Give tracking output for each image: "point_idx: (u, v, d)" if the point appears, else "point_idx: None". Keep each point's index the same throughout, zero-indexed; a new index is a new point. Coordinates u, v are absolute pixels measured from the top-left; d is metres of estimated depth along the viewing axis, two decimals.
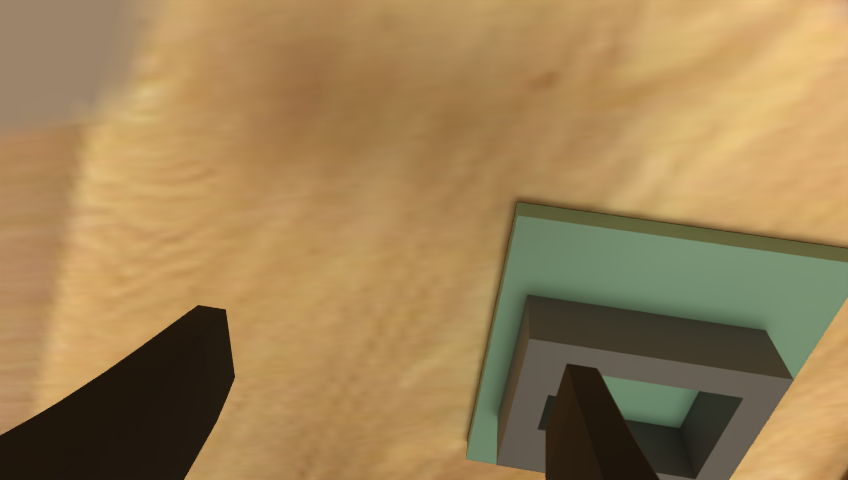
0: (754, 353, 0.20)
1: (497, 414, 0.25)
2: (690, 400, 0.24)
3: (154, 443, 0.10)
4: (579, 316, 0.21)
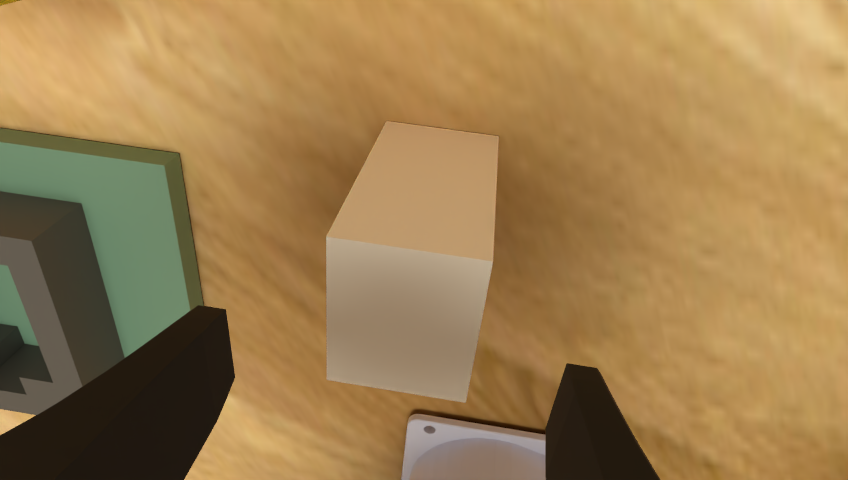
0: None
1: None
2: None
3: (154, 443, 0.10)
4: None
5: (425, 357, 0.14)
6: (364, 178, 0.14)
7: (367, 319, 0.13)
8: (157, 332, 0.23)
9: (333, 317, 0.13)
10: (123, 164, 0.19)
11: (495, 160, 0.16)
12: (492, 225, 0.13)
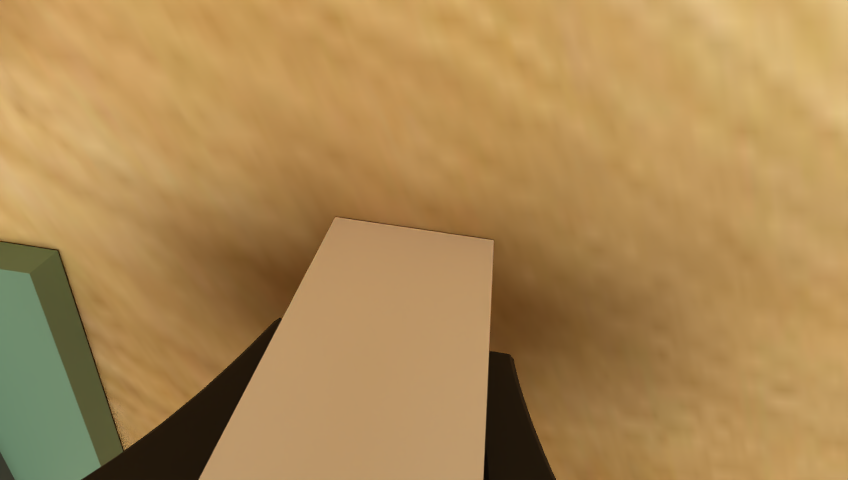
0: None
1: None
2: None
3: None
4: None
5: None
6: (281, 343, 0.09)
7: None
8: (54, 462, 0.18)
9: None
10: None
11: (488, 291, 0.11)
12: (480, 451, 0.08)
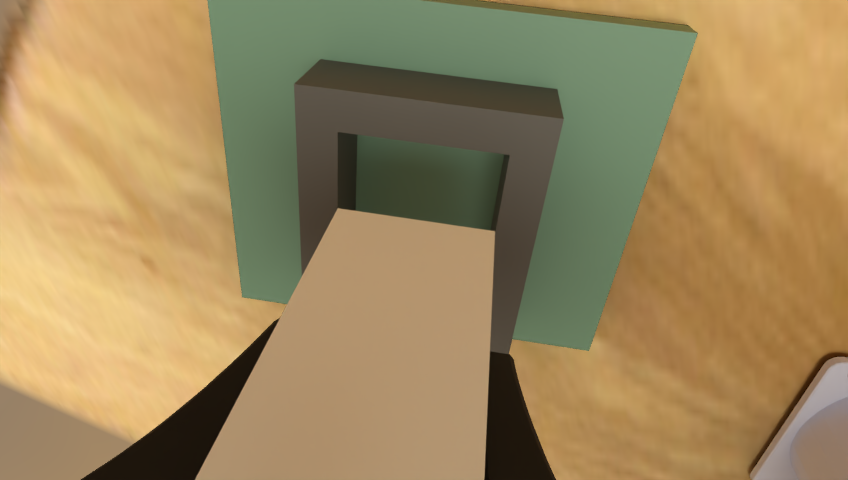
0: None
1: None
2: None
3: None
4: None
5: None
6: (286, 330, 0.09)
7: None
8: (572, 257, 0.20)
9: None
10: (641, 33, 0.16)
11: (489, 280, 0.11)
12: (482, 434, 0.08)
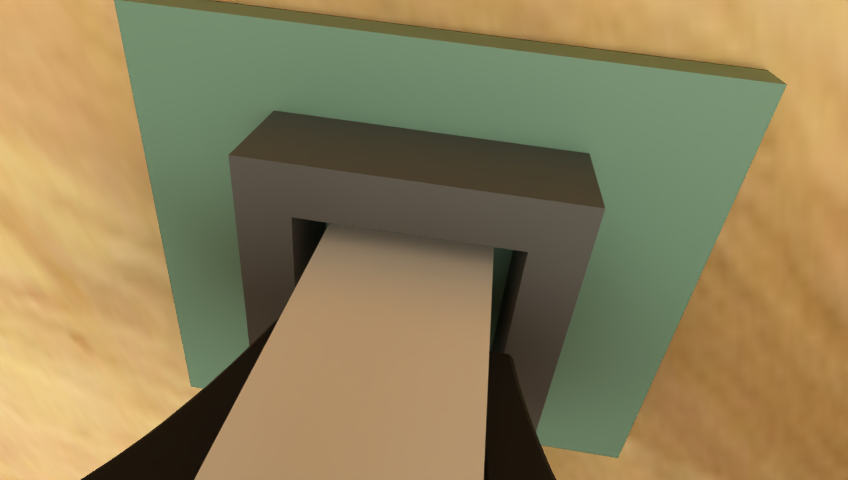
0: None
1: None
2: None
3: None
4: None
5: None
6: (285, 330, 0.09)
7: None
8: (601, 354, 0.16)
9: None
10: (708, 84, 0.11)
11: (489, 280, 0.11)
12: (482, 434, 0.08)
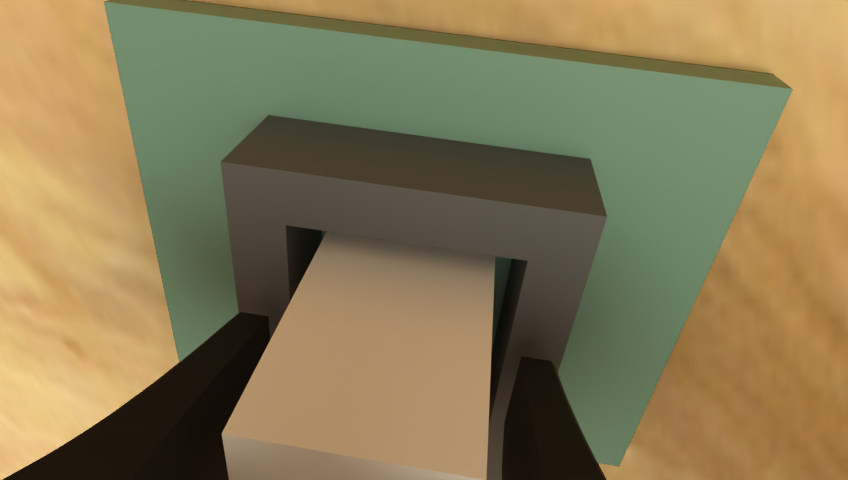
0: None
1: None
2: None
3: (205, 452, 0.10)
4: None
5: None
6: (302, 301, 0.10)
7: None
8: (602, 362, 0.15)
9: None
10: (713, 88, 0.11)
11: (491, 259, 0.12)
12: (486, 393, 0.09)
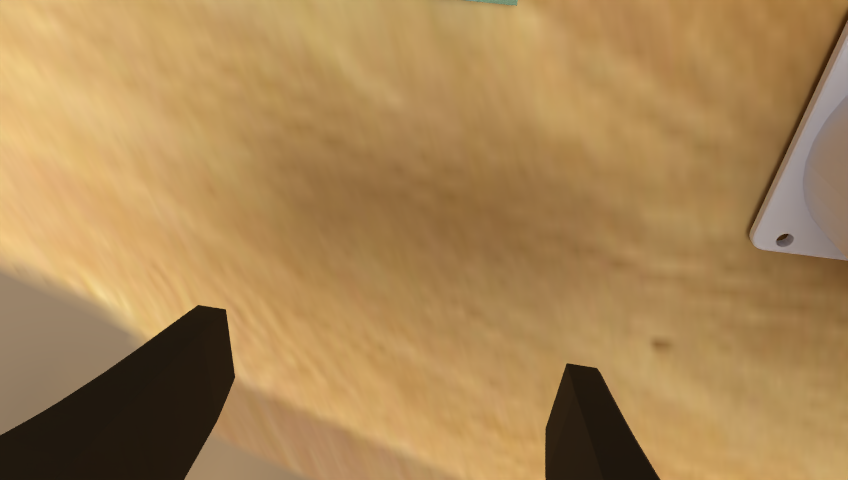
0: None
1: None
2: None
3: (154, 443, 0.10)
4: None
5: None
6: None
7: None
8: None
9: None
10: None
11: None
12: None
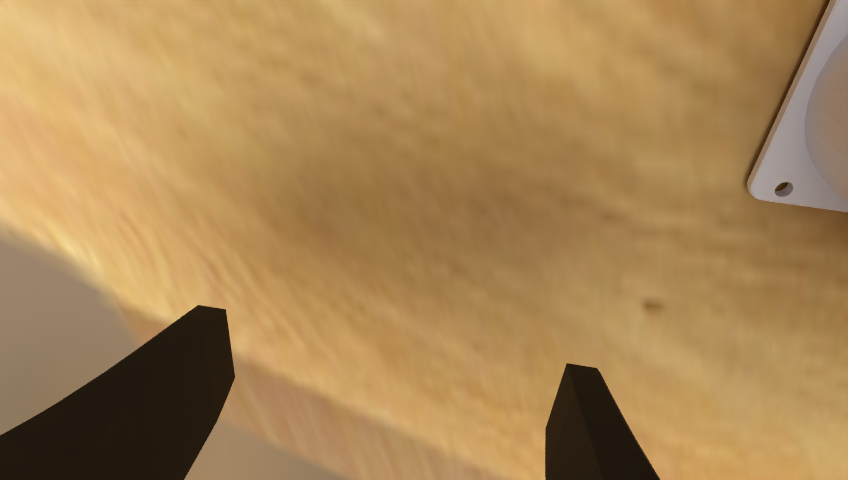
0: None
1: None
2: None
3: (154, 443, 0.10)
4: None
5: None
6: None
7: None
8: None
9: None
10: None
11: None
12: None
